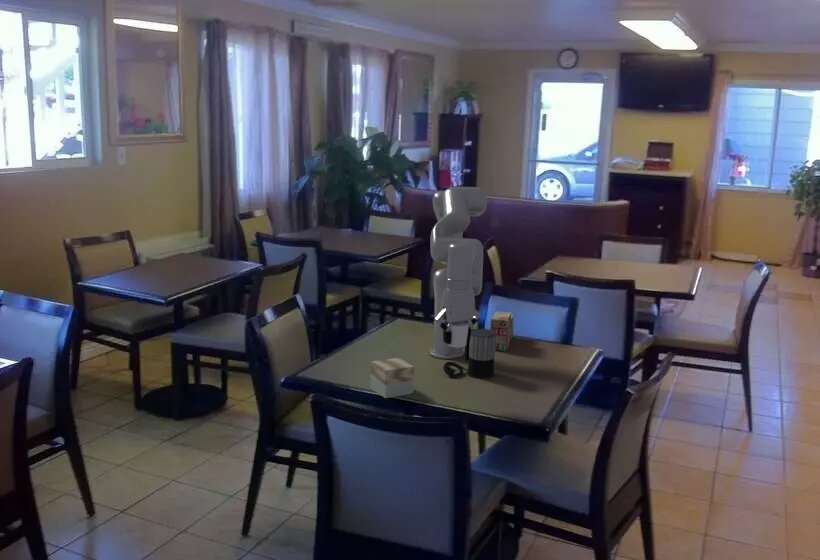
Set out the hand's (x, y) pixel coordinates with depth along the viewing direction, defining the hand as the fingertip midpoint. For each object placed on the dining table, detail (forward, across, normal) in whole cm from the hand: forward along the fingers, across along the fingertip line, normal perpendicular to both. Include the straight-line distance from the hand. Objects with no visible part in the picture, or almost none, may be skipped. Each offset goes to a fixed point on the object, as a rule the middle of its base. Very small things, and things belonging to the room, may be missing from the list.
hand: (456, 341), depth 240 cm
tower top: (+14, +15, -14) cm, 24 cm away
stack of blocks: (+20, -49, -42) cm, 68 cm away
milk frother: (+19, -16, -16) cm, 30 cm away
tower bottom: (+18, +15, -13) cm, 27 cm away
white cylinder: (+1, 0, 0) cm, 1 cm away
